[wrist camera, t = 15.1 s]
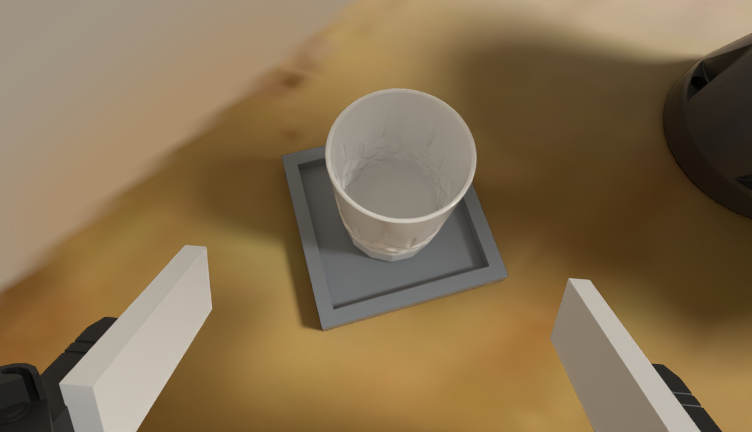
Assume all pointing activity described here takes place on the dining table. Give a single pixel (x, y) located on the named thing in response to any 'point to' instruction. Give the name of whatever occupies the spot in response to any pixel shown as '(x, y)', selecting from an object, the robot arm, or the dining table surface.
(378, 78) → the dining table surface
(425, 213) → the white cup
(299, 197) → the charcoal tray
